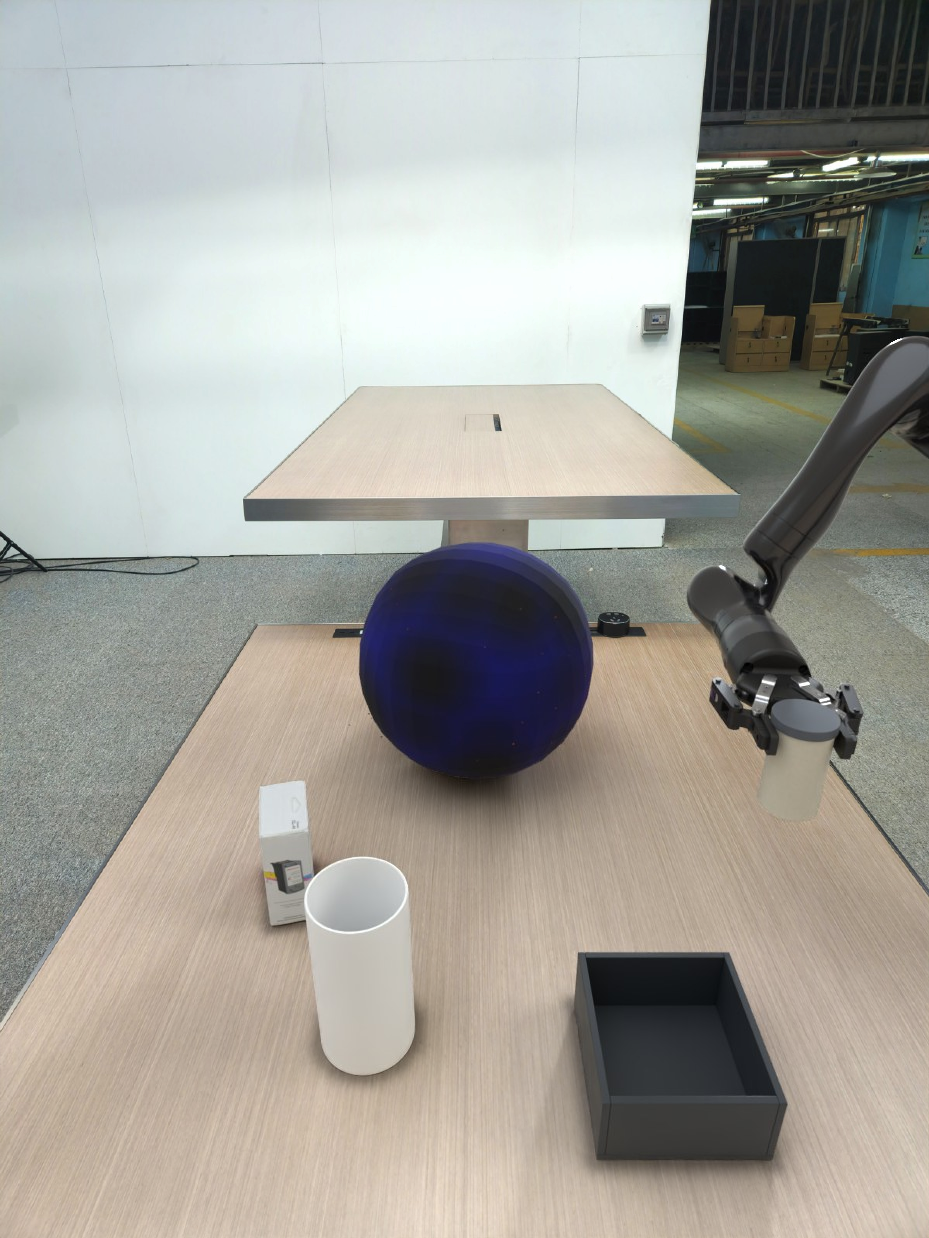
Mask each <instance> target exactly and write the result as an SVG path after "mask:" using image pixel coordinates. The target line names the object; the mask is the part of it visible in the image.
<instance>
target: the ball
mask: <svg viewBox="0 0 929 1238" xmlns="http://www.w3.org/2000/svg"><path fill="white" fill-rule="evenodd" d="M502 531H503V532H504V531H505V529H502ZM363 623H364V624H363V628H362V631H361V636H360V640H359V656H358V657H359V658H358V676H359V683H360V688H361V693H362V696H363V698H364V701H365V704H366V706H367V708H368V711H369V712H368V713H367V715H371V718H370V719H372V720H373V721H374V723H375V725H376V726H377V727H378V729H379V731H380V732H381V733H382V735H383V736H384V737H385V738H386V739H387V740H388V741H389V742H390V744H391V745H393V746H394V748H396V750H398V751H399V752H400V753H401V754H403V755H404V756H405V757H407V758H408V759H409V760H411V761H412V762H414V763H415V764H418V765H420V766H421V767H424V768H425V769H427V770H429V771H433V772H436V773H437V774H438V773H439V774H441V775H446V776H448V777H454V778H458V779H459V778H461V779H470V780H471V779H472V780H484V779H496V778H498V779H499V778H502V777H505V776H508V775H513V774H517V773H519V772H521V771H523V770H526V769H528V768H531V767H532V766H534V765H536V764H538V763H540V762H542V761H543V760H545V758H546V757H548V756H549V755H550V754H552V753H553V752H554V751H555V750H556V749H557V748H559V747H560V746H561V745H562V744H563V743H564V742H565V740H566V739H567V737H568V736H569V735H570V733H571V732H572V730H573V729H574V728H575V726H576V725H577V723H578V721H579V719H580V717H581V715H582V713H583V710H584V708H585V705H586V703H587V700H588V698H589V693H590V688H591V682H592V676H593V670H594V666H595V665H594V663H595V662H594V642H593V637H592V633H591V628H590V624H589V620H588V615H587V613H586V610H585V609H584V605H583V604H582V601H581V599H580V597H579V595H578V594H577V593H576V591H575V590H574V589H573V587H572V586H571V584H570V583H569V581H568V580H567V579H566V578H564V576H562V575H561V574H560V572H558V571H557V570H555V568H554V567H552V565H550V564H549V563H546V562H545V561H543V560H542V559H540V558H539V557H537V556H536V555H534V554H532V553H529V552H526V551H524V550H521V549H519V548H516V547H514V546H511V545H504V544H500V543H495V542H487V541H486V542H478V541H477V542H476V541H475V542H474V541H473V542H471V541H469V542H462V543H456V544H451V545H445V546H439V547H437V548H434V549H432V550H429V551H427V552H424V553H422V554H420V555H418V556H416V557H414V558H412V559H411V560H410V561H408V562H406V563H405V564H404V565H402V566H400V568H397V570H395V571H394V573H393V574H392V575H391V577H389V579H388V580H387V581H386V583H385V584H384V585H383V586H382V588H380V590H379V591H378V593H377V594H376V595H375V598H374V599H373V601H372V604H371V607H370V609H369V611H368V613H367V616H366V619H365V621H364V622H363ZM348 726H350V724H348ZM383 736H380V738H383Z"/></svg>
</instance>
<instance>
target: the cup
mask: <svg viewBox="0 0 929 1238" xmlns="http://www.w3.org/2000/svg"><path fill="white" fill-rule="evenodd" d="M304 908H305V916H306V920H305V925H306V931H307V939H308V946H309V947H308V948H309V955H310V963H311V971H312V972H311V973H312V979H313V986H314V996H315V1003H316V1010H317V1020H318V1027H319V1035H320V1036H319V1037H320V1043H321V1048H322V1050H323V1054H324V1056H325V1057H326V1058H327V1060H328V1061H329V1062H330V1063H331V1064H332V1066H334V1067H335V1068H337V1069H338V1070H340V1071H342V1072H344V1073H345V1074H349V1075H353V1076H354V1075H355V1076H371V1075H375V1074H379V1073H382V1072H385V1071H386V1070H388V1069H391V1067H392V1068H393V1066H395V1065H397V1063H399V1062H400V1061H401V1060H402V1059H403V1058H404V1056H405V1055H406V1054H407V1053H408V1051H409V1050H410V1047H411V1046H412V1043H413V1041H414V1037H415V1033H416V1019H415V1018H416V1017H415V1016H416V1015H415V997H414V996H415V995H414V976H413V975H414V974H413V958H412V957H413V956H412V955H413V954H412V934H411V930H412V929H411V913H410V912H411V911H410V894H409V886H408V882H407V879H406V877H405V875H404V873H403V872H402V871H401V870H400V869H399V868H398V867H397V866H395V865H394V864H393V863H391V862H389V861H387V860H384V859H381V858H378V857H373V856H354V857H348V858H343V859H340V860H338V861H335V862H333V863H331V864H329V865H327V866H326V867H323V868H322V869H321V870H320V871H319V872H318V873H316V875H314V878H313V879H312V880H311V882H310V883H309V885H308V887H307V889H306V893H305V898H304Z"/></svg>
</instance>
